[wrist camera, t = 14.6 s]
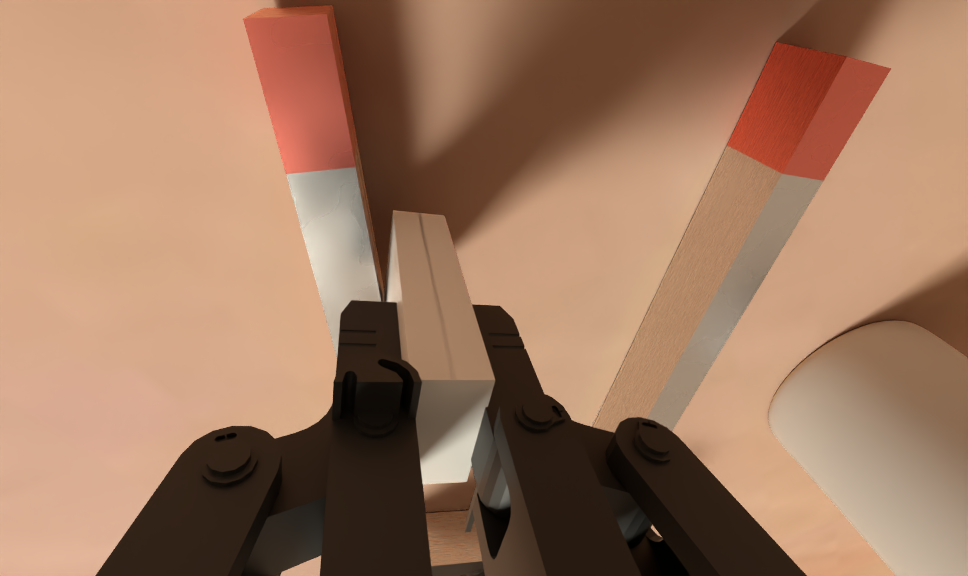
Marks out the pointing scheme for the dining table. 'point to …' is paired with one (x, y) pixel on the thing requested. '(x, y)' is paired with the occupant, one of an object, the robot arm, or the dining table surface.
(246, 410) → the dining table surface
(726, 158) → the base
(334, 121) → the red-tipped stick
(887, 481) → the mug
